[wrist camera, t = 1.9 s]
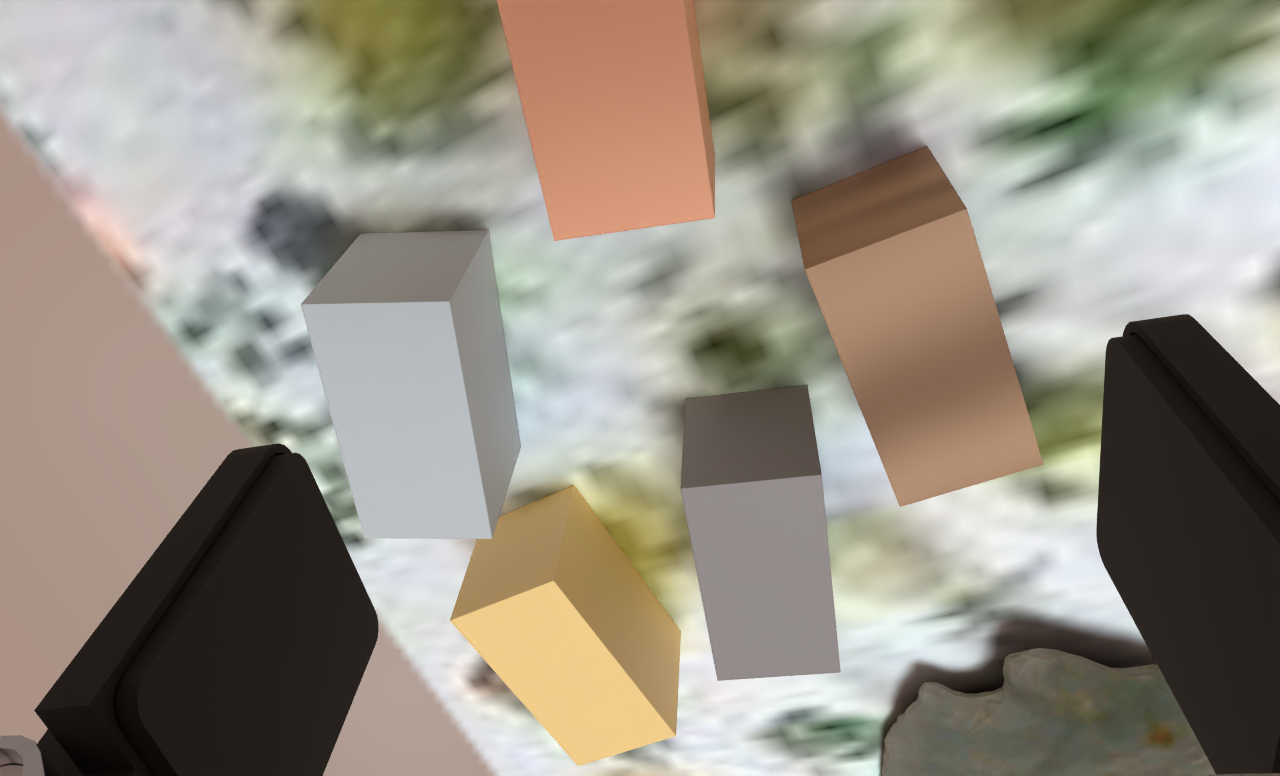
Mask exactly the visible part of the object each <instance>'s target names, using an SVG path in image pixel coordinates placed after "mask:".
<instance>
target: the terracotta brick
mask: <svg viewBox="0 0 1280 776" xmlns="http://www.w3.org/2000/svg"><path fill="white" fill-rule="evenodd" d="M497 3H498V7H499V11H500V16H501V20H502V24H503V28H504V32H505V36H506V41H507V45H508V49H509V53H510V57H511V62H512V66H513V70H514V74H515V78H516V83H517V87H518V91H519V95H520V99H521V103H522V108H523V112H524V116H525V120H526V124H527V129H528V133H529V137H530V141H531V145H532V150H533V154H534V158H535V162H536V166H537V170H538V175H539V179H540V183H541V187H542V191H543V196H544V200H545V204H546V208H547V212H548V217H549V221H550V225H551V229H552V233H553V237H554V241H557V240H564V239H571V238H578V237H585V236H592V235H599V234H606V233H613V232H620V231H627V230H634V229H641V228H648V227H655V226H662V225H669V224H676V223H683V222H690V221H697V220H704V219H711V218H715V153H714V146H713V138H712V131H711V124H710V117H709V110H708V102H707V95H706V88H705V81H704V74H703V66H702V59H701V52H700V45H699V38H698V31H697V23H696V16H695V9H694V2H693V0H497Z"/></svg>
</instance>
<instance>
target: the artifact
mask: <svg viewBox="0 0 1280 776" xmlns="http://www.w3.org/2000/svg"><path fill="white" fill-rule="evenodd" d="M1003 676H1004V684H1003V687H1001V688H999V689H997V690H995V691H989V692H982V693H976V694H967V693H963V692H958V691H954V690H952V689H950V688H948V687H946V686H944V685H942V684H940V683H937V682H927V683H923V684H922V686H921V687H920V689H919V694H918V699H917V700H916V701H915V702H913V703H912V704H911V705H910V706H909V707H908V708H907V709H906V711H905V713H903V714H900V715H899V716H898V717H897V721H896V723H894V724H893V725H892V726H891V728H890V730H889V731H888V733H887V735H886V737H885V739H884V744H885V748H884V752H883V766H882V770H881V774H882V776H1201V775H1216V773H1215V771H1214V769H1213V767H1212V766H1211V764H1210V762H1209V760H1208V758H1207V756H1206V754H1205V753H1204V751H1203V749H1202V747H1201V745H1200V743H1199V741H1198V740H1197V738H1196V736H1195V734H1194V732H1193V730H1192V728H1191V726H1190V725H1189V723H1188V721H1187V719H1186V717H1185V715H1184V713H1183V712H1182V710H1181V708H1180V706H1179V704H1178V702H1177V700H1176V698H1175V697H1174V695H1173V693H1172V691H1171V689H1170V687H1169V685H1168V684H1167V682H1166V680H1165V678H1164V676H1163V674H1162V672H1161V671H1160V669H1159V667H1158V665H1156V664H1151V665H1144V666H1138V667H1128V668H1110V667H1107V666H1104V665H1102V664H1099V663H1096V662H1094V661H1091V660H1089V659H1087V658H1084V657H1081V656H1078V655H1074V654H1070V653H1067V652H1063V651H1059V650H1055V649H1045V648H1035V649H1030V650H1026V651H1022V652H1016V653H1012V654H1009V655H1007V656H1006V657H1005V661H1004V666H1003Z"/></svg>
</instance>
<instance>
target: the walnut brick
mask: <svg viewBox="0 0 1280 776" xmlns="http://www.w3.org/2000/svg"><path fill="white" fill-rule="evenodd" d="M791 201H792V206H793V211H794V216H795V221H796V226H797V232H798V237H799V242H800V247H801V252H802V257H803V263H804V268H805V271H806V274H807V276H808V279H809V281H810V284H811V286H812V289H813V291H814V294H815V296H816V299H817V301H818V304H819V306H820V309H821V311H822V314H823V316H824V319H825V321H826V324H827V326H828V329H829V331H830V334H831V336H832V339H833V341H834V344H835V346H836V349H837V351H838V354H839V356H840V359H841V361H842V363H843V366H844V368H845V371H846V373H847V376H848V378H849V381H850V383H851V386H852V388H853V391H854V393H855V396H856V398H857V401H858V403H859V406H860V408H861V411H862V413H863V416H864V418H865V421H866V423H867V426H868V428H869V431H870V433H871V436H872V438H873V441H874V443H875V446H876V448H877V451H878V453H879V456H880V458H881V461H882V463H883V466H884V468H885V471H886V473H887V476H888V478H889V481H890V483H891V486H892V488H893V491H894V493H895V496H896V498H897V501H898V503H899V506H900V507H901V506H905V505H908V504H911V503H915V502H918V501H921V500H925V499H928V498H932V497H935V496H938V495H942V494H945V493H948V492H952V491H955V490H959V489H962V488H965V487H969V486H972V485H975V484H979V483H982V482H986V481H989V480H992V479H996V478H999V477H1002V476H1006V475H1009V474H1013V473H1016V472H1019V471H1023V470H1026V469H1030V468H1033V467H1036V466H1040V465H1043V462H1042V458H1041V455H1040V452H1039V448H1038V445H1037V442H1036V438H1035V435H1034V432H1033V428H1032V425H1031V422H1030V418H1029V415H1028V412H1027V408H1026V405H1025V402H1024V398H1023V395H1022V392H1021V388H1020V385H1019V382H1018V378H1017V375H1016V371H1015V368H1014V365H1013V361H1012V358H1011V355H1010V351H1009V348H1008V345H1007V341H1006V338H1005V335H1004V331H1003V328H1002V325H1001V321H1000V318H999V315H998V311H997V308H996V305H995V301H994V298H993V295H992V291H991V288H990V285H989V281H988V278H987V275H986V271H985V268H984V265H983V261H982V258H981V255H980V251H979V248H978V245H977V241H976V238H975V235H974V231H973V228H972V225H971V221H970V218H969V214H968V211H967V208H966V207H965V205H964V204H963V202H962V200H961V199H960V197H959V196H958V194H957V192H956V191H955V189H954V188H953V186H952V185H951V183H950V181H949V180H948V178H947V177H946V175H945V173H944V172H943V170H942V169H941V167H940V166H939V164H938V162H937V161H936V159H935V158H934V156H933V154H932V153H931V151H930V150H929V148H928V147H927V146H926V147H924V148H921V149H919V150H916V151H914V152H911V153H909V154H906V155H904V156H901V157H899V158H896V159H894V160H891V161H889V162H886V163H884V164H881V165H879V166H876V167H874V168H871V169H869V170H866V171H864V172H861V173H859V174H856V175H854V176H851V177H849V178H846V179H844V180H841V181H839V182H836V183H834V184H831V185H829V186H826V187H824V188H821V189H819V190H816V191H814V192H811V193H809V194H806V195H804V196H801V197H799V198H796V199H793V200H791Z"/></svg>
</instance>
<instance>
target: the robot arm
mask: <svg viewBox="0 0 1280 776" xmlns="http://www.w3.org/2000/svg"><path fill="white" fill-rule="evenodd" d="M1097 543H1098V548H1099V553H1100V556H1101V559H1102V562H1103V564H1104V566H1105V568H1106V570H1107V572H1108V574H1109V575H1110V577H1111V579H1112V581H1113V583H1114V585H1115V587H1116V589H1117V590H1118V592H1119V594H1120V596H1121V598H1122V600H1123V602H1124V603H1125V605H1126V607H1127V609H1128V611H1129V613H1130V615H1131V616H1132V618H1133V620H1134V622H1135V624H1136V626H1137V628H1138V630H1139V631H1140V633H1141V635H1142V637H1143V639H1144V641H1145V643H1146V644H1147V646H1148V648H1149V650H1150V652H1151V654H1152V656H1153V657H1154V659H1155V661H1156V663H1157V665H1158V667H1159V669H1160V671H1161V672H1162V674H1163V676H1164V678H1165V680H1166V682H1167V684H1168V685H1169V687H1170V689H1171V691H1172V693H1173V695H1174V697H1175V698H1176V700H1177V702H1178V704H1179V706H1180V708H1181V710H1182V712H1183V713H1184V715H1185V717H1186V719H1187V721H1188V723H1189V725H1190V726H1191V728H1192V730H1193V732H1194V734H1195V736H1196V738H1197V740H1198V741H1199V743H1200V745H1201V747H1202V749H1203V751H1204V753H1205V754H1206V756H1207V758H1208V760H1209V762H1210V764H1211V766H1212V767H1213V769H1214V771H1215V773H1216V775H1201V776H1280V405H1279V404H1278V403H1277V402H1276V401H1275V400H1274V399H1273V398H1272V397H1271V396H1270V395H1269V394H1268V393H1267V392H1266V391H1265V390H1264V389H1263V388H1262V387H1261V386H1260V385H1259V384H1258V382H1257V381H1256V380H1255V379H1254V378H1253V377H1252V376H1251V375H1250V374H1249V373H1248V372H1247V371H1246V370H1245V369H1244V368H1243V367H1242V366H1241V365H1240V364H1239V363H1238V362H1237V361H1236V360H1235V359H1234V358H1233V357H1232V356H1231V355H1230V354H1229V353H1228V352H1227V351H1226V350H1225V349H1224V348H1223V347H1222V346H1221V345H1220V344H1219V343H1218V342H1217V341H1216V340H1215V339H1214V338H1213V337H1212V336H1211V335H1210V334H1209V333H1208V332H1207V331H1206V330H1205V329H1204V328H1203V327H1202V326H1201V325H1200V324H1199V323H1198V322H1197V321H1196V320H1195V319H1194V318H1193V317H1191V316H1190V315H1189V314H1183V315H1176V316H1169V317H1162V318H1155V319H1148V320H1141V321H1134V322H1129V323H1128V324H1127V325H1126V327H1125V330H1124V332H1123V337H1116V338H1111V339H1110V340H1109V341H1108V344H1107V348H1106V360H1105V379H1104V398H1103V417H1102V436H1101V455H1100V474H1099V493H1098V512H1097ZM377 637H378V619H377V614H376V611H375V609H374V607H373V605H372V602H371V600H370V598H369V596H368V594H367V592H366V589H365V587H364V585H363V583H362V581H361V579H360V576H359V574H358V572H357V570H356V568H355V566H354V563H353V561H352V559H351V557H350V555H349V553H348V550H347V548H346V546H345V544H344V542H343V540H342V537H341V535H340V533H339V531H338V529H337V527H336V524H335V522H334V520H333V518H332V516H331V514H330V512H329V509H328V507H327V505H326V503H325V501H324V499H323V496H322V494H321V492H320V490H319V488H318V486H317V483H316V481H315V479H314V477H313V475H312V473H311V470H310V468H309V466H308V464H307V462H306V461H305V459H304V458H303V457H302V456H301V455H300V454H298V453H292V452H291V451H290V450H289V449H288V448H287V447H286V446H285V445H282V444H272V445H265V446H258V447H251V448H244V449H238V450H234V451H232V452H231V453H230V454H229V455H228V456H227V457H226V459H225V460H224V461H223V462H222V464H221V465H220V466H219V468H218V469H217V470H216V472H215V473H214V475H213V476H212V477H211V478H210V480H209V481H208V482H207V484H206V485H205V486H204V488H203V489H202V490H201V491H200V493H199V494H198V496H197V497H196V498H195V499H194V501H193V502H192V504H191V505H190V506H189V507H188V509H187V510H186V511H185V513H184V514H183V515H182V516H181V518H180V519H179V521H178V522H177V523H176V524H175V526H174V527H173V528H172V530H171V531H170V532H169V534H168V535H167V536H166V538H165V539H164V540H163V542H162V543H161V544H160V545H159V547H158V548H157V550H156V551H155V552H154V553H153V555H152V556H151V557H150V559H149V560H148V561H147V563H146V564H145V565H144V567H143V568H142V569H141V571H140V572H139V573H138V574H137V576H136V577H135V578H134V580H133V581H132V582H131V584H130V585H129V586H128V588H127V589H126V590H125V592H124V593H123V595H122V596H121V597H120V598H119V600H118V601H117V602H116V603H115V605H114V606H113V607H112V609H111V610H110V611H109V613H108V614H107V615H106V617H105V618H104V619H103V621H102V622H101V623H100V625H99V626H98V627H97V629H96V630H95V631H94V632H93V634H92V635H91V636H90V638H89V639H88V640H87V642H86V643H85V644H84V646H83V647H82V649H81V650H80V651H79V652H78V654H77V655H76V656H75V658H74V659H73V660H72V661H71V663H70V664H69V665H68V667H67V668H66V669H65V671H64V672H63V673H62V675H61V676H60V677H59V679H58V680H57V681H56V683H55V684H54V685H53V687H52V688H51V689H50V691H49V692H48V693H47V694H46V696H45V697H44V698H43V700H42V701H41V702H40V704H39V705H38V706H37V708H36V709H35V710H34V711H35V712H36V713H37V715H38V716H39V717H40V718H41V720H42V721H43V722H44V724H45V725H46V726H47V728H48V730H47V731H46V733H45V734H44V736H43V737H42V738H41V740H40V741H39V742H38V744H36V743H35V741H33V740H30V739H28V738H26V737H24V736H0V776H323V773H324V770H325V768H326V766H327V763H328V761H329V758H330V756H331V753H332V751H333V748H334V746H335V743H336V741H337V738H338V736H339V734H340V731H341V728H342V726H343V724H344V721H345V719H346V716H347V714H348V711H349V709H350V706H351V704H352V701H353V698H354V696H355V694H356V691H357V689H358V686H359V684H360V681H361V679H362V677H363V674H364V672H365V669H366V666H367V664H368V662H369V659H370V657H371V654H372V651H373V649H374V647H375V644H376V641H377Z"/></svg>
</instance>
